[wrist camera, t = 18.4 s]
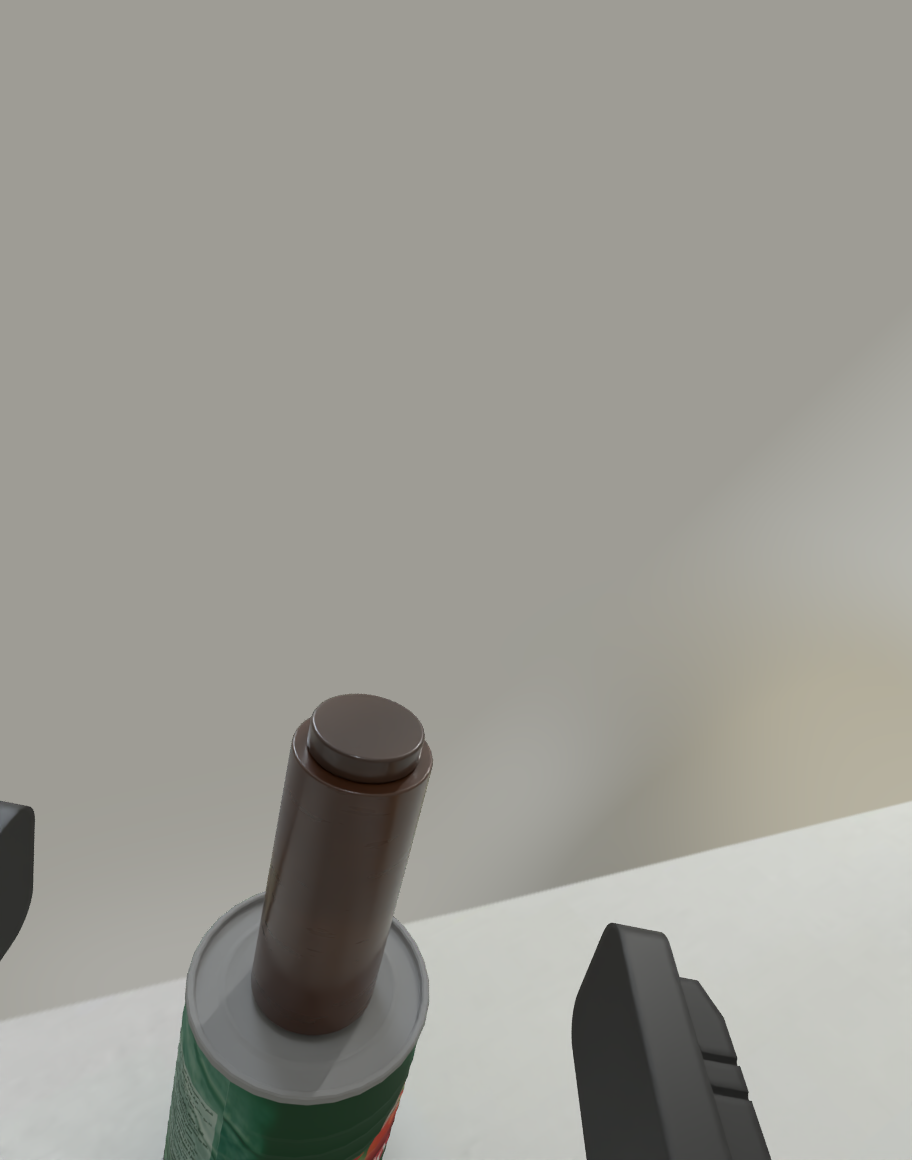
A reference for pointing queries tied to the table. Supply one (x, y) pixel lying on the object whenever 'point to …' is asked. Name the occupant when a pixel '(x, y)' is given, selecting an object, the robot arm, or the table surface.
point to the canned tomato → (288, 1059)
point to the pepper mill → (338, 861)
